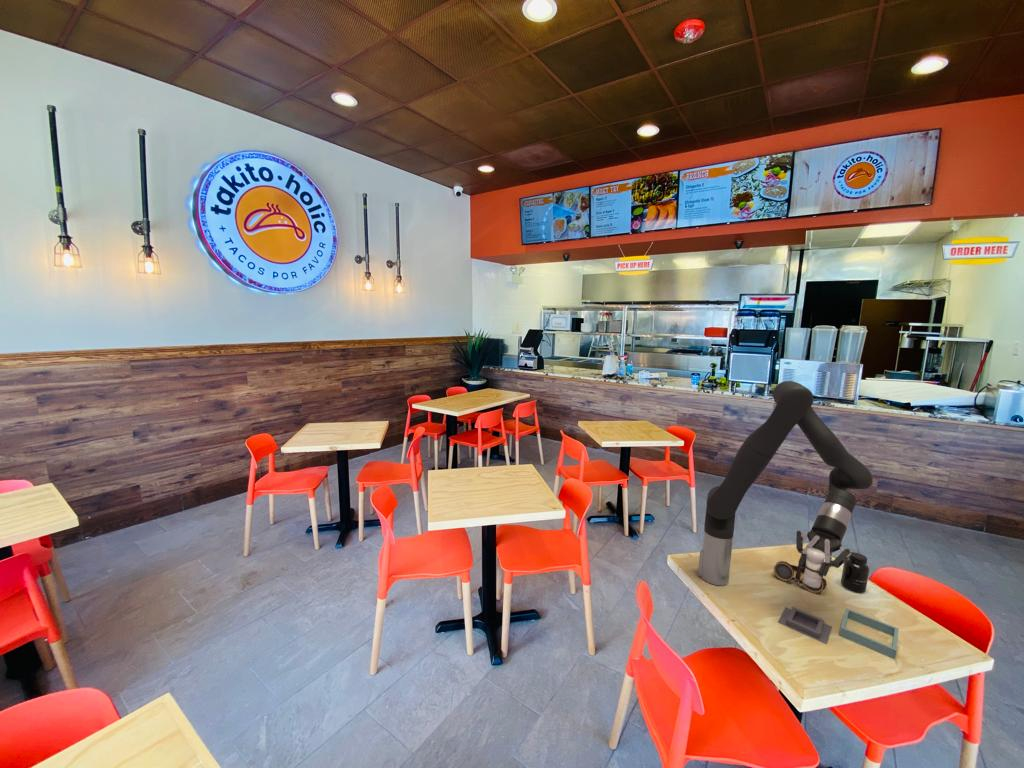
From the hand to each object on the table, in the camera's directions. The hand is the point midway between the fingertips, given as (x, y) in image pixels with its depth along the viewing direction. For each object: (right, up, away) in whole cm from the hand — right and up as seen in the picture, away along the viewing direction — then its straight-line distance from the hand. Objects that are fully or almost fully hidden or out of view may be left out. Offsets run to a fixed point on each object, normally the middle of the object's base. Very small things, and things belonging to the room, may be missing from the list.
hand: (811, 571), depth 121 cm
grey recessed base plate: (+1, -19, +4) cm, 19 cm away
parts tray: (+16, -20, 0) cm, 26 cm away
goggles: (+16, -16, +27) cm, 36 cm away
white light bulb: (+1, -4, +2) cm, 5 cm away
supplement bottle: (+32, -17, +24) cm, 43 cm away
